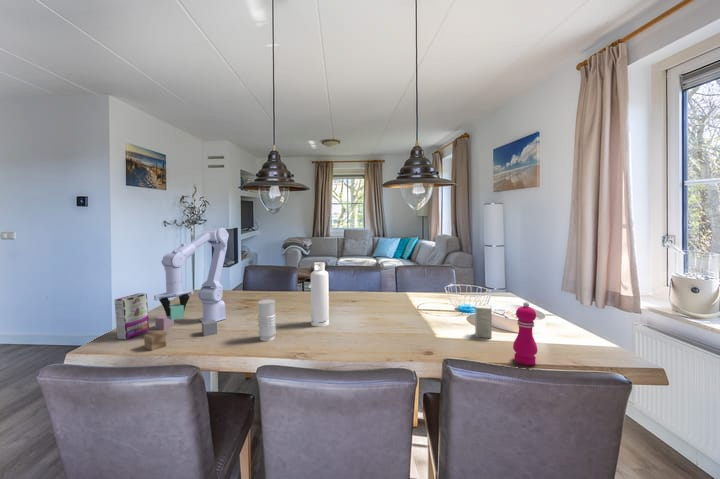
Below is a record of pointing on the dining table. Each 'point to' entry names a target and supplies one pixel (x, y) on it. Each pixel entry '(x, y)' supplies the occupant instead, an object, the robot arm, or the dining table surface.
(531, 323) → the pepper mill
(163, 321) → the plum block
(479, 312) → the skincare box
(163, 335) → the walnut block
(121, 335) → the candy bar box
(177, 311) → the teal block
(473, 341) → the dining table surface
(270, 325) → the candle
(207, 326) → the charcoal block
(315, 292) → the bottle
